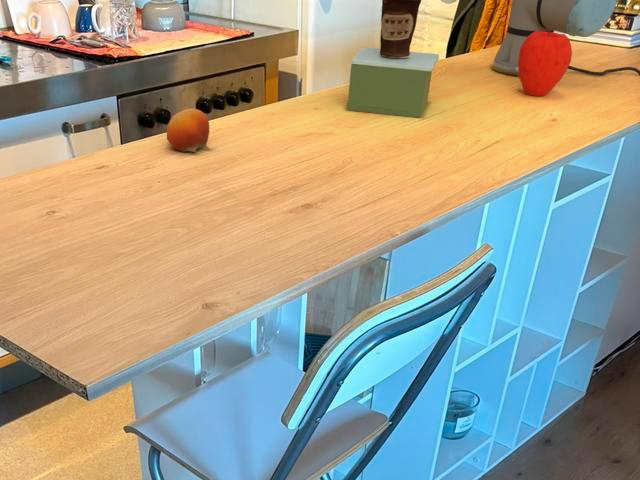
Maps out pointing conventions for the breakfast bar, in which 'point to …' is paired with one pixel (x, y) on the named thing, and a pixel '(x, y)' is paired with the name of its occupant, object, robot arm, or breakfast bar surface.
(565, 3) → the robot arm
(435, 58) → the pale blue box lid
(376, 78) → the green storage bin
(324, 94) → the breakfast bar surface
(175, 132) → the fruit
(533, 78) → the apple
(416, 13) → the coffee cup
